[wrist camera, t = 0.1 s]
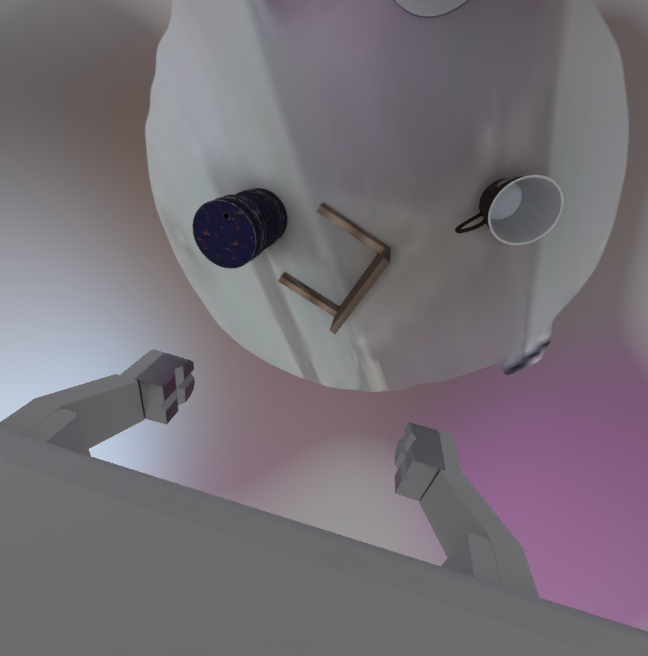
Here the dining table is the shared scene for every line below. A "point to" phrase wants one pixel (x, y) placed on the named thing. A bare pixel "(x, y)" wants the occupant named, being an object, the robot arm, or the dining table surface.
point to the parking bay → (362, 284)
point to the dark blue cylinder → (239, 226)
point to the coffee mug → (519, 209)
